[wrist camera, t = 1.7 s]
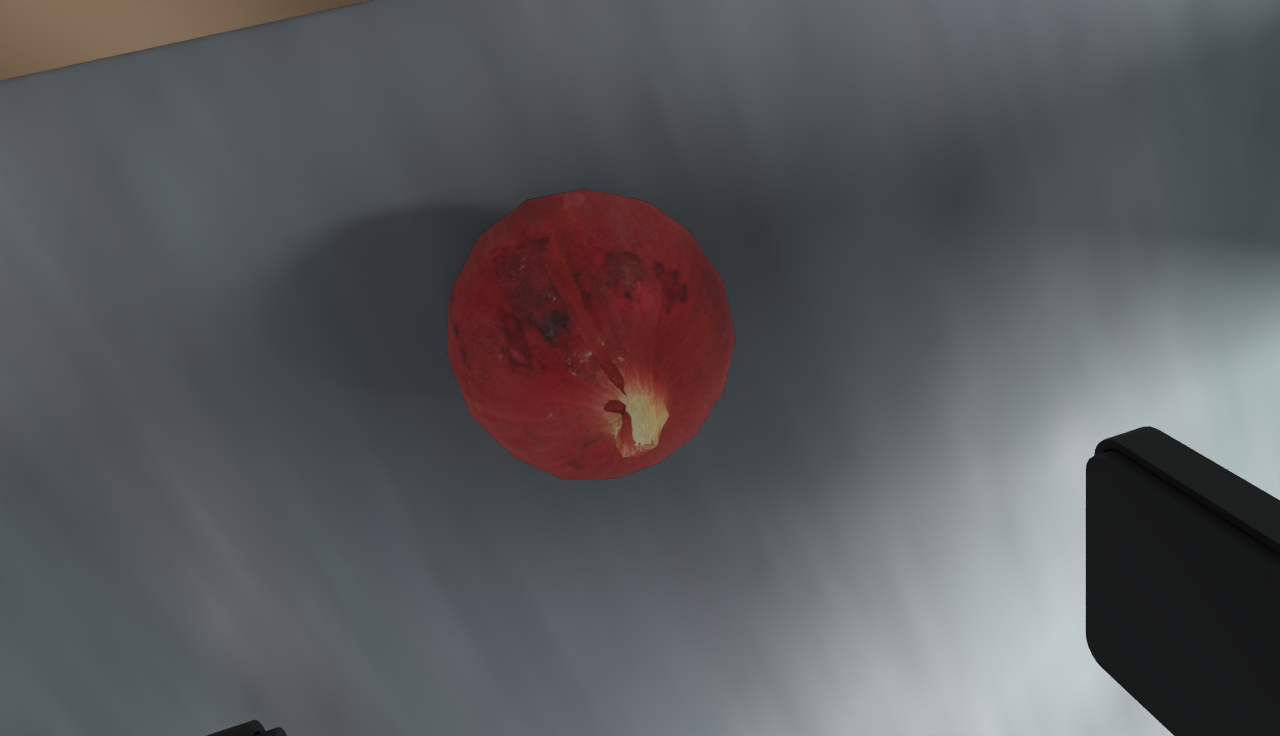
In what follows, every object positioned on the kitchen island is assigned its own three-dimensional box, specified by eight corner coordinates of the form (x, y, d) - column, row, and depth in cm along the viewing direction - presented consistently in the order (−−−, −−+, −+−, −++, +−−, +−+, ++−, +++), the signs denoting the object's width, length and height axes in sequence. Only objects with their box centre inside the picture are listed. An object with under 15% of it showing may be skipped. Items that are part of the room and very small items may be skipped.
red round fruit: (383, 265, 23) (389, 410, 16) (582, 106, 23) (681, 179, 16) (540, 436, 26) (606, 627, 18) (720, 295, 25) (860, 432, 18)
